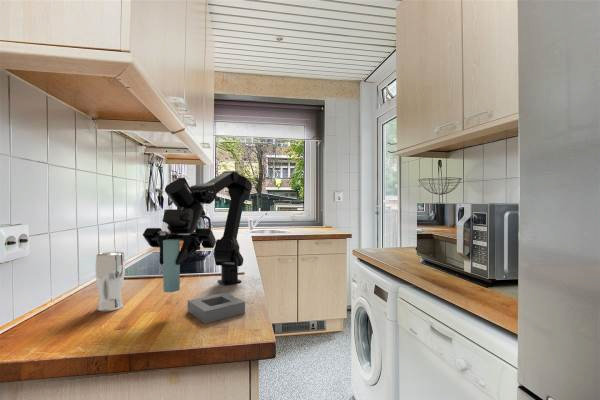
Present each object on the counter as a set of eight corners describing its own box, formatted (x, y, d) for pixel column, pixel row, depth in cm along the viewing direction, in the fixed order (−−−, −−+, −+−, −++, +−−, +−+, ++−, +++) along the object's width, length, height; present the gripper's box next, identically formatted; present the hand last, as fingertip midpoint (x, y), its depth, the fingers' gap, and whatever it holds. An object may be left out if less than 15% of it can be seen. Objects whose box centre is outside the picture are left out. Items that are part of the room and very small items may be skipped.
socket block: (187, 311, 85) (187, 300, 85) (225, 302, 92) (225, 292, 92) (205, 323, 77) (205, 311, 77) (245, 313, 84) (245, 301, 84)
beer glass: (91, 313, 84) (91, 256, 84) (100, 305, 91) (100, 252, 91) (121, 310, 86) (120, 255, 86) (127, 302, 93) (127, 251, 92)
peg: (161, 289, 83) (161, 240, 83) (176, 287, 86) (176, 238, 86) (166, 293, 80) (166, 241, 80) (182, 290, 83) (181, 240, 83)
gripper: (146, 198, 88) (119, 244, 77) (211, 198, 86) (193, 245, 75) (162, 224, 96) (139, 269, 85) (222, 225, 94) (207, 271, 83)
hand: (168, 263), depth 82 cm, fingers closed on peg, 4 cm apart
